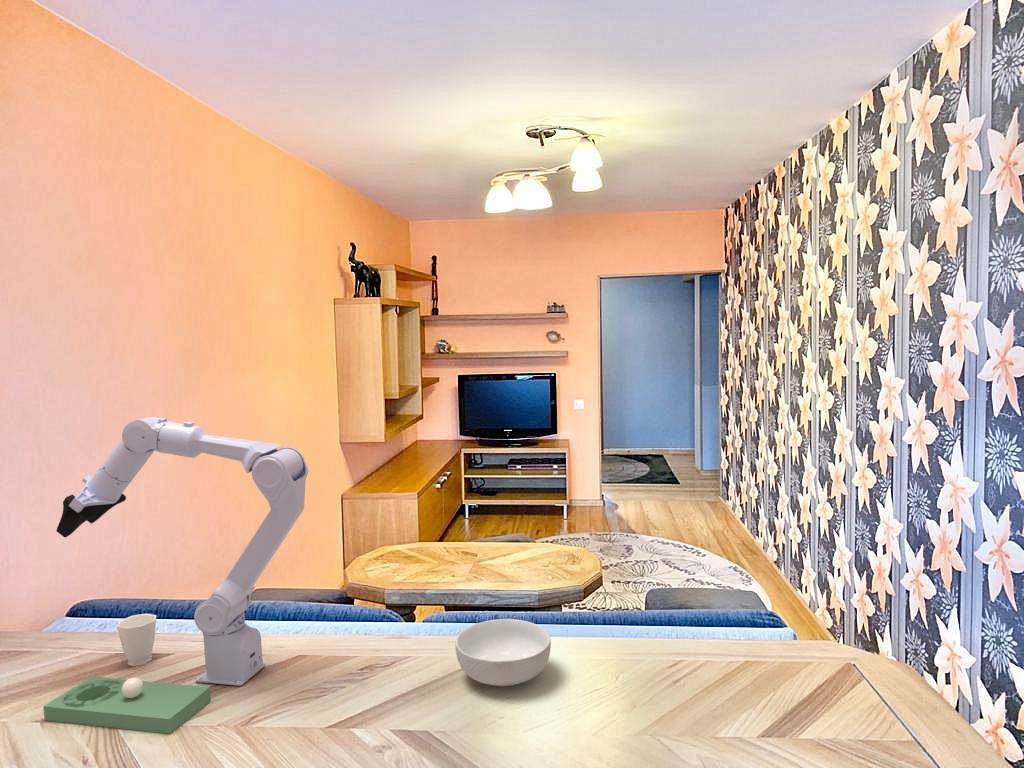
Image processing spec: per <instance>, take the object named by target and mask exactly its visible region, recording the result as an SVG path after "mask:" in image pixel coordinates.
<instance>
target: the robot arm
mask: <svg viewBox="0 0 1024 768" xmlns="http://www.w3.org/2000/svg"><path fill="white" fill-rule="evenodd" d="M121 438H122V439H121V440H120V441H119V443H117V444H116V446H115V447H114V449H112V452H111V453H109V455H108V456H107V457H106V459H105V461H104V462H102V464H101V466H100V467H99V468H98V469H97V470H96V472H95V473H94V474H93V476H92V475H90V474H88V475H85V476H83V477H82V479H81V481H82V483H84V486H83V487H82V489H81V491H80V493H79V494H78V495H74V494H70V495H68V496H66V497H65V498H64V500H63V501H62V506H63V507H62V514H61V517H60V520H59V522H58V525H57V527H56V532H57V533H58V534H60V535H61V536H62V537H64V538H67V537H69V536H70V535H73V533H74V532H75V531H76V530H77V529H78V528H80V526H81V525H83V524H84V523H85V522H86V521H87V522H88V523H89V524H91V525H92V524H94V523H95V522H97V521H98V520H99V519H100V518H101V517H103V516H104V515H105V514H106V513H107V512H108V511H110V510H111V509H112V508H114V507H115V506H118V504H121V503H123V502H125V501H126V500H127V496H126V495H125V494H124V493H123V492H124V491H125V490H126V489H127V487H128V486H129V485H130V484H131V482H132V481H133V480H134V478H135V477H136V476H137V474H138V473H139V472H140V471H141V470H142V468H143V467H144V466H145V465H146V463H147V462H148V460H149V459H150V458H151V456H152V455H153V453H154V452H158V453H163V454H167V455H168V454H169V455H174V456H181V457H184V458H192V459H193V458H197V457H198V456H199V455H201V454H202V453H203V454H207V455H211V456H216V457H221V458H225V459H229V460H233V461H238V462H240V463H241V464H242V467H243V469H244V471H245V473H246V474H249V473H251V478H252V480H253V483H254V484H255V485H256V487H257V489H259V491H260V492H261V494H262V495H263V497H264V498H265V500H266V501H267V503H268V504H269V507H270V511H268V513H267V515H266V516H265V518H264V520H263V521H262V523H261V524H260V525H259V527H258V528H257V529H256V531H255V533H254V535H253V536H252V538H251V539H250V541H249V543H248V544H247V545H246V547H245V548H244V549H243V552H242V553H241V555H240V556H239V557H238V559H237V561H236V562H235V564H234V565H233V567H232V568H231V570H230V571H229V573H228V574H227V576H226V578H225V579H224V580H223V581H222V582H221V583H220V585H219V586H217V588H216V589H214V591H213V592H212V594H211V596H210V597H209V598H207V599H206V600H205V601H203V602H201V603H200V604H198V606H197V607H196V609H195V611H194V614H193V615H194V616H193V618H194V623H195V625H196V627H197V628H198V629H199V631H201V632H202V637H203V647H204V660H205V661H204V662H205V671H204V672H203V673H201V674H200V675H199V676H197V677H195V682H196V683H204V684H217V685H228V686H242V685H244V684H245V683H247V681H249V680H250V679H251V678H252V677H254V676H255V674H257V673H258V672H259V671H260V670H262V669H263V668H264V667H266V663H265V662H263V661H264V660H263V649H262V637H261V635H262V634H261V632H260V631H259V630H258V629H257V628H255V627H251V626H249V625H248V624H247V623H246V617H245V612H246V611H247V610H248V608H249V607H250V603H251V595H252V593H253V591H254V590H255V584H256V582H257V581H258V580H259V578H260V576H261V575H262V573H263V572H264V570H265V569H266V567H268V564H269V563H270V561H271V560H272V558H273V556H274V555H275V554H276V553H277V550H278V549H279V548H280V546H281V544H282V543H283V541H284V540H285V539H286V537H288V534H289V532H290V531H291V530H292V528H293V527H294V525H295V523H296V522H297V520H298V519H299V518H300V516H301V514H302V513H303V511H304V509H305V495H306V481H307V477H308V474H309V469H308V466H307V463H306V461H305V458H304V455H303V453H302V452H301V451H299V450H298V449H297V448H294V447H290V446H286V447H283V445H281V444H279V443H274V442H265V441H258V440H251V439H241V438H236V437H235V438H234V437H228V436H221V435H220V436H217V435H211V434H207V433H206V431H205V430H204V429H203V428H202V427H201V426H198V425H195V422H194V421H190V420H188V421H184V422H183V423H179V422H173V421H168V418H164V417H161V418H160V417H159V416H158V417H157V416H150V417H145V418H140V419H137V420H132V421H130V422H128V423H126V424H125V426H124V428H123V429H122V433H121ZM281 447H282V448H281ZM278 448H279V449H278Z"/></svg>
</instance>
